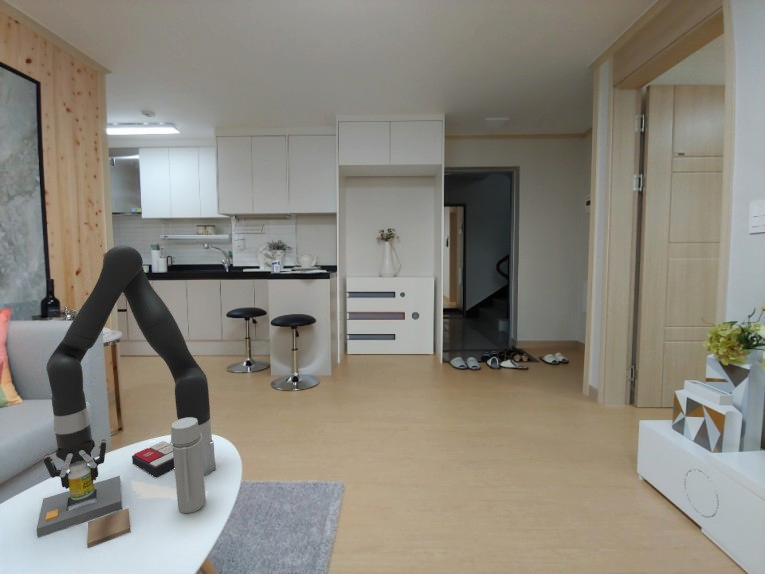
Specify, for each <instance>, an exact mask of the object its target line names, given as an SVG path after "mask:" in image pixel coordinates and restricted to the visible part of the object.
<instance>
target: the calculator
mask: <svg viewBox="0 0 765 574" xmlns="http://www.w3.org/2000/svg"><path fill="white" fill-rule="evenodd" d="M131 460H132V464H133V465H135V466H136V467H137V466H138V468H139V469H141V470H143V471H145V472H147V473H148V474H149V475H150V474H151V475H150V476H152V475H153V476H152V477H153V478H155V477H156V478H157V479H158V478H159V477H161V476H163V475H165V474H167V473H169V472H171V471H173V470H175V469H174V468H175V467H174V457H173V447H171V445H170V443H169V442H167V441H165V440H162V441H160V442H158V443H156V444H153V445H151V446H149V447H147V448H143V450H140V451H137V452H135V453H134V454H133V455H131ZM172 469H173V470H172ZM170 470H171V471H170Z"/></svg>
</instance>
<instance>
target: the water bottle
mask: <svg viewBox="0 0 765 574" xmlns="http://www.w3.org/2000/svg"><path fill="white" fill-rule="evenodd" d="M170 425H171V427H170V443H169V444H170V445H171V447H173V457H174V467H175V469H174V476H175V488H176V497H177V507H178V511H179V512H180V513H183V514H192V513H194V512H197V511H199V510H201V509H202V508H203V507H204V505H205V503H206V502H207V498H206V487H205V486H206V485H205V476H204V472H203V459H202V447H201V439H202V434H201V433H200V431H199V425H198V421H197V419H196V418H193V417H189V418H183V419H179V420H178V419H177V420H175V421H173V422H172V423H171V424H170Z"/></svg>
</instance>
